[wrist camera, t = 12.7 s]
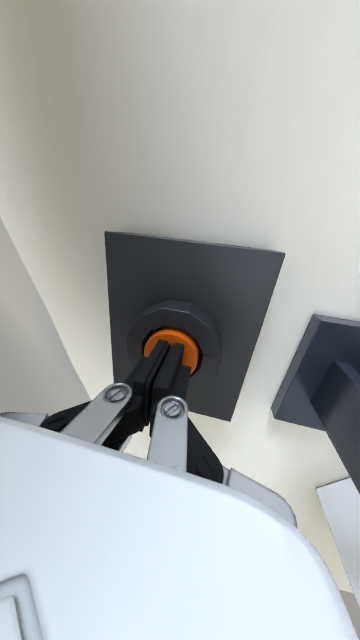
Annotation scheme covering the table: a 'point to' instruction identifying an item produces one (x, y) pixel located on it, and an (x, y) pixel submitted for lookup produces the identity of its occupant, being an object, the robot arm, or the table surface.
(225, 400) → the button base
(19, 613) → the robot arm
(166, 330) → the button
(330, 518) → the gable box
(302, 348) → the switch bracket
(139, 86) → the table surface
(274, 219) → the table surface
